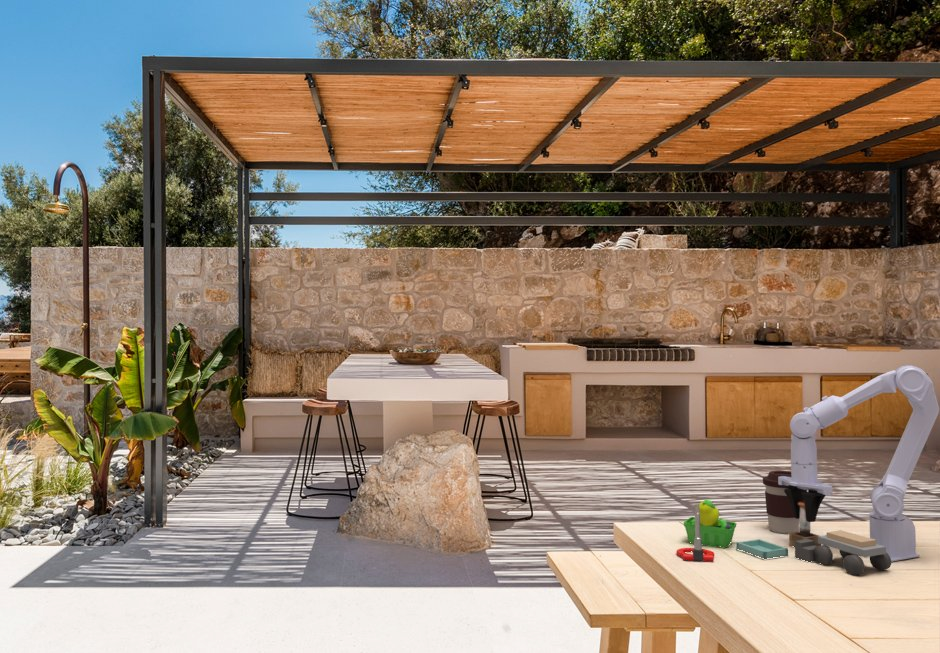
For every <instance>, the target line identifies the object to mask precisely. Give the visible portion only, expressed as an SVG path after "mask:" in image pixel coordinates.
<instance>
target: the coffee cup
mask: <svg viewBox="0 0 940 653" xmlns="http://www.w3.org/2000/svg"><path fill="white" fill-rule="evenodd" d="M781 476H786V477H791V471H788V470H787V471H786V470H771V471H769V472H768V473H767V476H763V478H762V484H763V485H764V486H765V491H764V495H765V498H764V499H765V508H766V515H767V521H768V528H769V530H770V531H771V530H772V531H771V532H773V533H774V532H775V533H778V532H779V533H778V534H780V533H781V534H789V533H795V532H800V528H799V519H796V518H795V516H794V512H793V509H792V506H791V503H790V501H789V499H788V497H787V495H786V494H785V492H784V489H788V486H786V485H779V484H778V477H781Z"/></svg>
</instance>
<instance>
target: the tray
mask: <svg viewBox="0 0 940 653" xmlns="http://www.w3.org/2000/svg"><path fill="white" fill-rule="evenodd" d="M735 543H736V545H735V546H736V548H735V549H739V550H743V551H745V552H748V553H751V554H753V555H756V556H759V557H761V558H764V559H767V558H773V557H780V556H788V557H789V548H788V547H785V546H782V545H779V544H776V543H773V542H770V541H766V540H763V539H759V538H757V539H751V540H743V541H736V542H735Z"/></svg>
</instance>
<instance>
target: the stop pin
mask: <svg viewBox="0 0 940 653" xmlns="http://www.w3.org/2000/svg"><path fill="white" fill-rule="evenodd" d="M798 505H799V532H800V536H803V537H810V533H811V522H807V519H806V508H805V503H804V500H799V501H798Z"/></svg>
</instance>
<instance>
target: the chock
mask: <svg viewBox="0 0 940 653" xmlns="http://www.w3.org/2000/svg"><path fill="white" fill-rule="evenodd" d="M815 547H816V546H814V541H812V540H809V539H805V540H799V541H795V548H794V558H795V557H796V558H799V559H802V560H805V561H808V562H811V561H815V559H814V557H813V549H814V548H815ZM796 558H795V559H796ZM799 559H798V560H799ZM802 560H801V561H802ZM805 561H804V562H805ZM808 562H807V563H808ZM811 563H812V562H811Z"/></svg>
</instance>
